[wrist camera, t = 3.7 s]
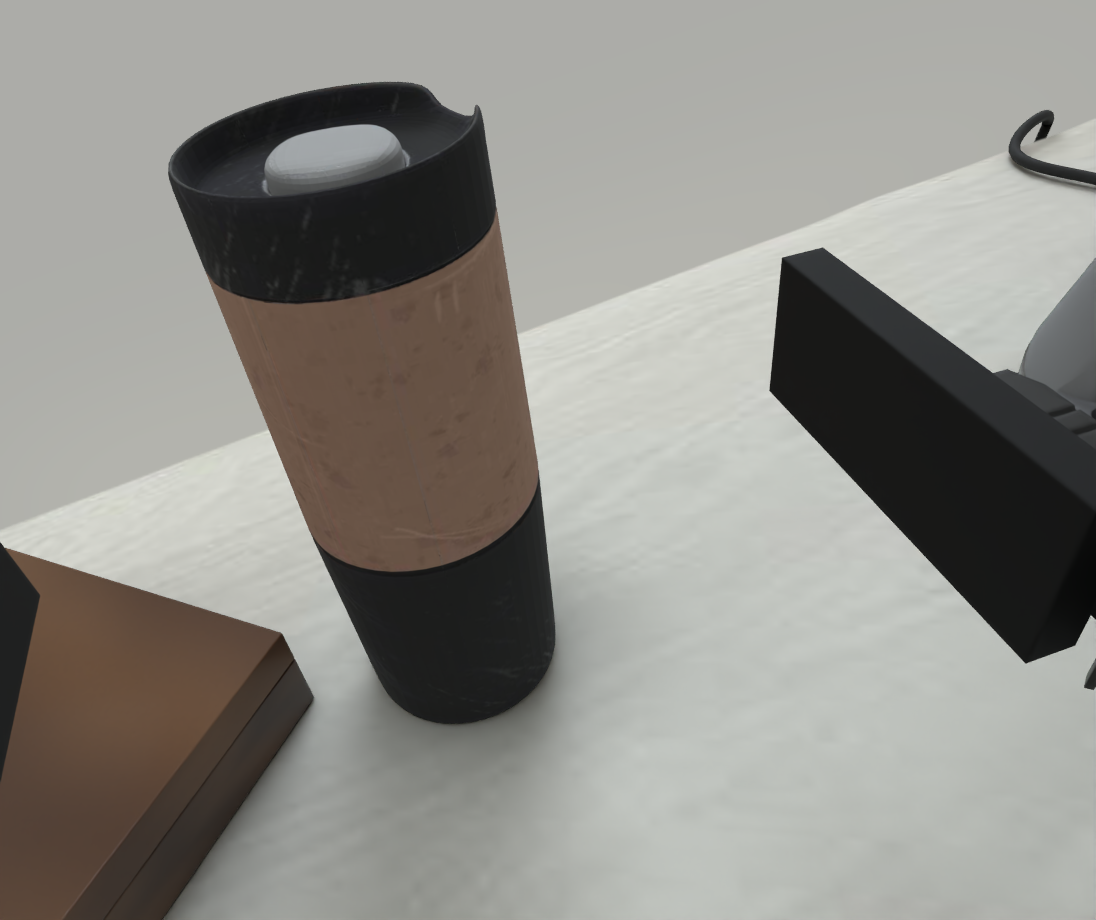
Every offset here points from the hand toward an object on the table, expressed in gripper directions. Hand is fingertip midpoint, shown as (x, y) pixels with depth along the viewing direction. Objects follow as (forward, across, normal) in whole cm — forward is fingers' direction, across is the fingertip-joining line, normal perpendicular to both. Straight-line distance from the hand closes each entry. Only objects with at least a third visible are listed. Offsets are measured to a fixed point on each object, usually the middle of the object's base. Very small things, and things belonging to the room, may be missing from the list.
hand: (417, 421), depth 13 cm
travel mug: (+10, 0, -18) cm, 21 cm away
